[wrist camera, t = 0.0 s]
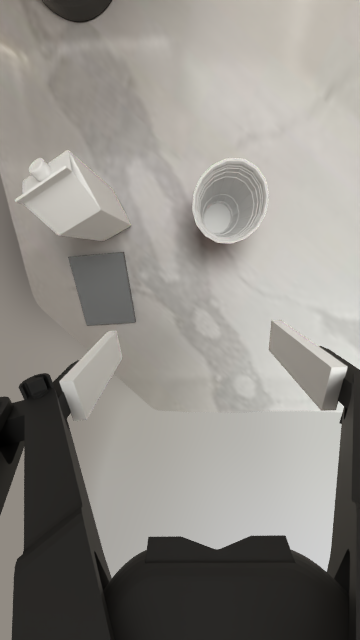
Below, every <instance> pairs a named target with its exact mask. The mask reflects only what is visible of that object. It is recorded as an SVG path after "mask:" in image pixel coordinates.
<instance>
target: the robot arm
mask: <svg viewBox="0 0 360 640" xmlns="http://www.w3.org/2000/svg"><path fill="white" fill-rule="evenodd" d="M42 1H43V2H44V3H45V4H46V5H47V6H48V7H49V8H50V9H51V10H53V11H54V12H55V13H57V14H58V15H60V16H61V17H63V18H66V19H69V20H72V21H86V20H89V19H92V18H94V17H96V16H97V15H99V14H100V13H101V12H102V11H103V10H104V9H105V8H106V7H107V6H108V4H109V3H110V2H111V0H42ZM269 351H270V352H271V353H272V354H273V355H274V357H275V358H276V359H277V360H278V361H279V362H280V364H281V365H282V366H283V367H284V368H285V369H286V370H287V372H288V373H289V374H290V375H291V376H292V377H293V379H294V380H295V381H296V382H297V383H298V384H299V385H300V387H301V388H302V389H303V390H304V391H305V392H306V394H307V395H308V396H309V397H310V398H311V399H312V400H313V402H314V403H315V404H316V405H317V406H318V407H319V409H320V410H321V411H323V410H336V408H337V404H338V401H339V402H340V403H341V404H342V405H343V406H344V410H343V413H342V417H341V420H340V423H341V424H342V428H341V440H340V451H339V463H338V476H337V488H336V500H335V511H334V523H333V536H332V547H331V554H330V560H329V564H328V570H327V572H326V571H324V570H323V569H322V568H321V567H320V566H318V565H317V564H316V563H314V562H313V561H311V560H310V559H308V558H307V557H305V556H303V555H301V554H299V553H297V552H295V551H293V550H290V547H289V545H288V542H287V539H286V536H250V537H247V538H245V539H243V540H240V541H238V542H236V543H233V544H231V545H229V546H226V547H224V548H222V549H218V550H216V549H212V548H210V547H207V546H204V545H202V544H199V543H197V542H194V541H191V540H188V539H186V538H183V537H149V538H148V546H147V550H146V551H143V552H141V553H140V554H138V555H136V556H135V557H133V558H132V559H131V560H129V561H128V562H127V563H126V564H125V565H124V566H123V567H122V568H121V569H120V570H119V571H118V572H117V573H116V574H115V575H114V577H113V578H111V575H110V572H109V569H108V566H107V563H106V560H105V557H104V553H103V550H102V546H101V543H100V539H99V535H98V532H97V528H96V524H95V520H94V517H93V513H92V509H91V506H90V502H89V499H88V495H87V491H86V488H85V484H84V480H83V476H82V473H81V469H80V465H79V461H78V458H77V454H76V451H75V447H74V443H73V439H72V436H71V432H70V428H69V425H68V422H67V417H68V416H69V414H70V413H71V415H72V418H73V420H74V421H77V420H87V418H88V417H89V415H90V413H91V411H92V410H93V408H94V406H95V405H96V403H97V401H98V399H99V398H100V396H101V394H102V393H103V391H104V389H105V387H106V386H107V384H108V382H109V381H110V379H111V377H112V375H113V374H114V372H115V370H116V369H117V367H118V365H119V363H120V362H121V360H122V353H121V348H120V344H119V339H118V334H117V331H108V332H107V333H106V334H105V335H104V336H103V337H102V338H101V339H100V340H99V341H98V342H97V343H96V344H95V345H94V346H93V347H92V348H91V349H90V350H89V351H88V352H87V353H86V354H85V355H84V356H83V358H81V360H78V361H76V362H74V363H73V364H71V365H70V366H69V367H68V368H67V369H66V370H65V371H64V372H63V373H62V374H61V375H60V376H59V377H58V378H57V379H56V380H55V381H54V382H53V383H52V380H51V377H50V375H49V374H46V373H44V374H38V375H34V376H33V377H30V378H28V379H27V380H25V381H23V382H22V383H21V384H20V386H19V389H20V391H21V393H22V395H23V398H24V400H23V401H19V402H15V403H11V401H10V399H9V398H8V397H0V514H1V512H2V509H3V506H4V503H5V500H6V497H7V494H8V491H9V489H10V486H11V482H12V480H13V477H14V474H15V471H16V468H17V466H18V463H19V460H20V457H21V454H22V451H23V448H24V446H25V459H24V460H25V462H24V464H25V465H24V466H25V467H24V468H25V469H24V473H25V475H24V478H25V479H24V551H23V555H21V556H20V557H19V558H18V559H17V562H16V565H15V573H14V592H13V594H14V595H13V620H12V622H13V623H12V640H360V370H359V369H358V368H356V367H355V366H353V365H352V364H350V363H349V362H347V361H346V360H344V359H342V358H341V357H340V356H338V355H336V354H335V353H334V352H332V351H331V350H329V349H326V348H324V347H322V346H317V345H316V344H315V343H313V342H312V341H310V340H309V339H307V338H306V337H305V336H303V335H302V334H300V333H299V332H297V331H296V330H295V329H293V328H292V327H290V326H289V325H287V324H286V323H284V322H283V321H282V320H274V321H271V331H270V342H269Z"/></svg>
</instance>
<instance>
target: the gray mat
mask: <svg viewBox="0 0 360 640" xmlns="http://www.w3.org/2000/svg"><path fill="white" fill-rule="evenodd" d="M68 258H69V262H70V265H71V269H72V273H73V276H74V280H75V284H76V287H77V291H78V295H79V298H80V302H81V306H82V309H83V313H84V317H85V320H86V324H87V325H102V324H117V323H132V322H136V319H135V313H134V308H133V302H132V296H131V290H130V284H129V279H128V273H127V267H126V261H125V255H124V252H119V253H108V254H96V255H84V256H73V257H68Z"/></svg>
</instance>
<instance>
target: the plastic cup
mask: <svg viewBox="0 0 360 640" xmlns="http://www.w3.org/2000/svg"><path fill="white" fill-rule="evenodd" d="M268 201H269V192H268V186H267V181H266V179H265V177H264V176H263V174H262V173H261V171H260V170H259V168H258V167H257V166H256V165H254V164H252V163H251V162H249V161H247V160H245V159H244V158H226V159H224V160H222V161H219V162H217V163H215V164H213V165H212V166H211V167H210V168H209V169H208V170H207V171H206V172H205V173H204V174H203V175H202V176H201V177H200V179H199V181H198V184H197V186H196V188H195V190H194V193H193V204H192V211H193V215H194V218H195V222H196V225H197V226H198V228H199V229H200V230H201V231H202V233H203V234H204V235H205V236H206V237H208V238H209V239H211V240H213V241H215V242H217V243H228V244H232V243H235V242H238V241H241V240H244V239H246V238H247V237H248V236H249V235H251V234H252V233H253V232H254V231H255V230H256V229H258V227H259V225H260V224H261V222H262V220H263V218H264V217H265V215H266V212H267V206H268Z"/></svg>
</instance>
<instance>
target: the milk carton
mask: <svg viewBox="0 0 360 640" xmlns="http://www.w3.org/2000/svg"><path fill="white" fill-rule="evenodd" d="M29 173H30V174H31V175H30V176H29V177H27V178H26V179H25V180H24V181H23V192H22V195H21V196H19V197H18V198H16V199H15V202H17V203H21V204H23V205H25V206H26V207H27V208H28V209H29V210H30V211H31V212H32V213H33V214H35V215H36V216H37V217H38V218H39V219H40V220H41V221H42V222H44V223H45V224H46V225H47V226H48V227H49V228H50V229H51V230H52V231H54V232H55V233H56V234H57V235H60V236H67V237H74V238H82V239H89V240H96V241H105V240H107V239H109V238H111V237H112V236H114V235H116V234H118V233H119V232H121V231H123V230H125V229H126V228H128V227H130V226H131V224H130V222H129V220H128V218H127V216H126V214H125V212H124V210H123V208H122V206H121V204H120V202H119V200H118V198H117V196H116V194H115V192H114V190H113V189H112V188H111V187H110V186H109V185H108V184H107V183H105V182H104V181H103V180H102V179H101V178H100V177H99V176H98V175H96V174H95V173H94V172H93V171H92V170H91V169H90V168H88V167H87V166H86V165H85V164H84V163H83V162H82V161H81V160H79V159H78V158H77V157H76V156H75V155H74V154H73V153H72V152H70V151H69V150H66V151H65V152H63V153H62V154H60V155H59V156H57V157H56V158H55V159H53V160H52V161H50V162H49V163H48V164H47V163H46V162H45V161H44V160H43V159H42V158H38V159H36V160H35V161H33V162H32V163H31V165H30V167H29Z"/></svg>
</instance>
